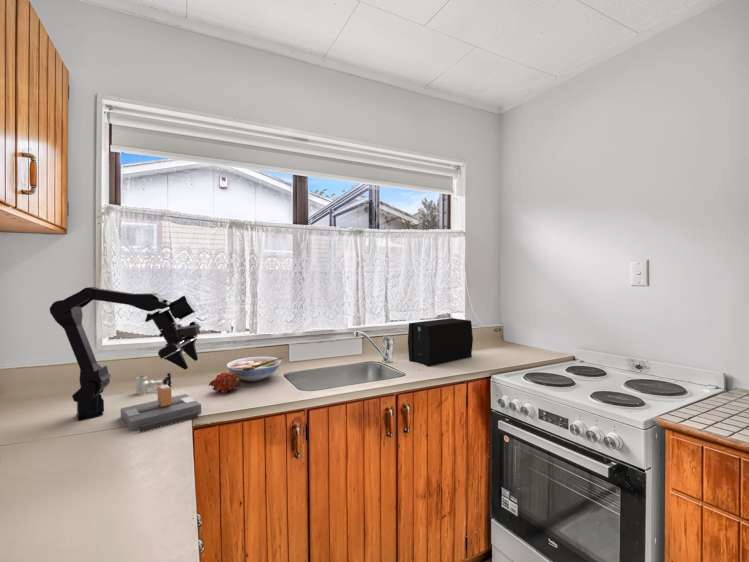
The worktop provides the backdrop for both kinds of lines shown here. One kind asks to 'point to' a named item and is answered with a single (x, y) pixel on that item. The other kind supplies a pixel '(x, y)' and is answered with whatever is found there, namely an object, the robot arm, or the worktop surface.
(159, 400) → the orange rectangular block
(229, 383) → the dragon fruit
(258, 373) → the ramen bowl
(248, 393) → the worktop surface
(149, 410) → the panel
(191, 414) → the grey slab
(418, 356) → the uninterruptible power supply
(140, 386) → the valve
